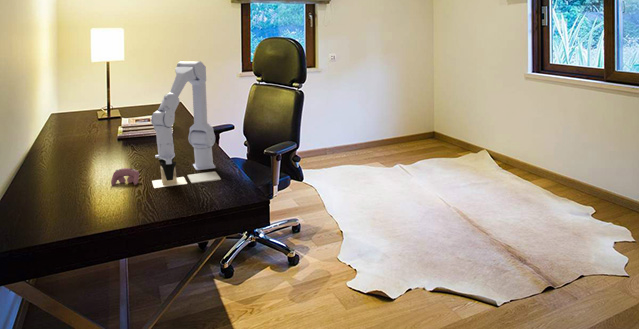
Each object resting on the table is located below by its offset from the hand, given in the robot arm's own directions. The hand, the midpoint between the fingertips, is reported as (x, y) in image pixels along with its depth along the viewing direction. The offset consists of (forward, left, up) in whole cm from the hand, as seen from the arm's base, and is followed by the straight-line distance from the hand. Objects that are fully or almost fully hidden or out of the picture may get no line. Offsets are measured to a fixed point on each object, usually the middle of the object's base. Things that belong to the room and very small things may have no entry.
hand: (168, 178), depth 190 cm
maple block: (0, 0, -2) cm, 2 cm away
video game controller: (-6, -15, -2) cm, 17 cm away
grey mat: (0, +13, -2) cm, 13 cm away
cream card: (0, 0, -2) cm, 2 cm away
